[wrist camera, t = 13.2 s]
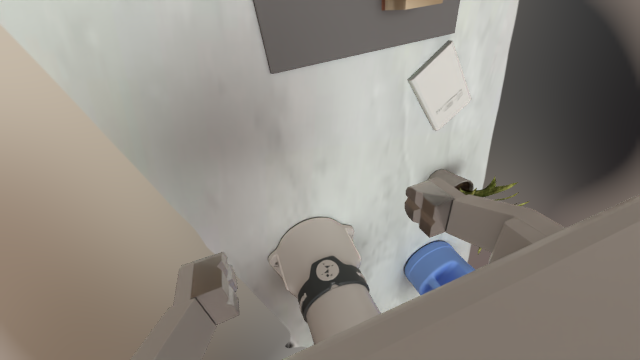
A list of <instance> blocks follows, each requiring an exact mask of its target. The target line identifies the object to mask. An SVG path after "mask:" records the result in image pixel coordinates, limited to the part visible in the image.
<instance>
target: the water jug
mask: <svg viewBox="0 0 640 360" xmlns="http://www.w3.org/2000/svg"><path fill="white" fill-rule="evenodd" d="M472 271H475V269H474V268H473V267H472V266H471V265H469V264H468V263H467V262H466V261H465V260H464V259H463V258H462V257H461V256H460V255H459V254H458V253H457V252H456V251H455V250H454V249H453V248H452V246H451V245H449V244H448V243H446V242H443V241H438V242H433V243H430V244H428V245H426V246H424V247H422V248H421V249H420V250H418V251H417V252H416V253H415V254H414V255H413V256H412V257H411V258H410V259H409V261H408V262H407V264H406V267H405V275H406V277H407V278H408V280H409V281H410V282H411V283H412V284H413V286H414V287H415V288H416V290H417V291H418V292H419V294H420V295H423V294H425V293H427V292H429V291H431V290H433V289H436V288H438V287H440V286H442V285H444V284H446V283H449V282H451V281H453V280H455V279H457V278H459V277H462V276H464V275H466V274H468V273H470V272H472Z"/></svg>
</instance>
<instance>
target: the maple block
mask: <svg viewBox="0 0 640 360" xmlns="http://www.w3.org/2000/svg"><path fill="white" fill-rule="evenodd" d="M440 3H443V0H382V10H407V9H412V8H418V7H423V6H429V5H435V4H440Z"/></svg>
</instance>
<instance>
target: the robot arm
mask: <svg viewBox="0 0 640 360" xmlns="http://www.w3.org/2000/svg"><path fill="white" fill-rule="evenodd" d="M406 196H407V197H408V198H407V200H406V201H405V211H406V214H407V215H408V217H409V218H410V219H411V220H412V221H413V222H416V223H419V228H420V229H421V230H422V231H423V232H424V233H425V234H426V235H427V236H428V237H429V238H430V237H433V236H435V235H438V234H441V233H443V232H446V233H448V234H450V235H453V236H455V237H457V238H459V239H462V240H464V241H466V242H468V243H471V244H473V245H475V246H478V247H480V248H482V249H485V250H487V251H489V252H491V253H492V254H491V257H490V259H489V264H488V265H485V266H483V267H481V268H479V269H477V270H475V271H472V272H470V273H468V274H466V275H464V276H462V277H459V278H457V279H455V280H453V281H451V282H449V283H446V284H444V285H442V286H440V287H438V288H436V289H433V290H431V291H429V292H427V293H425V294H423V295H420V296H418V297H416V298H414V299H412V300H410V301H407V302H405V303H403V304H401V305H399V306H397V307H395V308H392V309H390V310H388V311H386V312H384V313H382V314H381V312H380V311H379V309H378V307H377V306H376V304H375V302H374V301H373V299H372V297H371V295H370V294H369V287H368V285H367V283H366V280H365V278H364V276H363V275H362V274H361V272H360V270H359V267H360V264H361V257H360V255H359V253H358V251H357V249H356V247H355V245H354V243H353V236H354V229H353V227H352V226H349V225H342V224H340V223H338V222H337V221H335V220H333V219H330V218H313V219H309V220H306V221H304V222H301V223H299V224H298V225H296V226H294V227H293V228H292V229H290V230H289V231H288V232H287V233H286V234H285V235H284V237H283V238H282V240H281V241H280V244H279V246H278V248H277V249H276V250H275V251H274V252H273V253H272V254H271V255H270V256H269V257H268V261H269V263H270V265H271V266H272V267H273V268H274V269H275V270H276V272H277V273H278V274H279V275H280V276H281V277H282V279H283V280H284V283H285V286H286V289H287V291H290V292H291V294H292V295H294V296H295V297H296V298H297V299H298V302H299V305H300V310H301V313H302V315H303V317H304V320H305V321H306V322H307V323H308V325H309V328H310V332H311V335H312V339H313V342H314V345H312V346H310V347H308V348H306V349H304V350H302V351H299V352H298V353H295V354H293V355H291V356H289V357H287V358H285V359H282V360H640V195H637V196H634V197H632V198H630V199H628V200H626V201H624V202H621V203H620V204H617V205H615V206H613V207H611V208H608V209H606V210H604V211H602V212H600V213H598V214H596V215H593V216H591V217H589V218H587V219H585V220H583V221H581V222H578V223H576V224H574V225H572V226H570V227H568V228H565V227H563V226H561V225H560V224H558V223H556V222H554V221H552V220H550V219H549V218H547V217H546V216H544V215H542V214H540V213H539V212H537V211H535V210H534V209H530V208H526V207H522V206H517V205H513V204H509V203H504V202H500V201H496V200H492V199H487V198H483V197H479V196H474V195H470V194H468V195H465V194H463V193H462V192H460V191H459V190H457V189H456V188H454V187H453V186H451V185H450V184H448V183H447V182H445V181H444V180H442V179H441V178H438V177H435V178H432V179H429V180H427V181H424V182H421V183H419V184H416V185H413V186H410V187H408V188H407V189H406ZM236 290H237V280H236V275H235V272H234V270H233V268H232V266H231V265H229V264H228V261H227V256H226V255H225V253H224V252H221V253H218V254H215V255H212V256H208V257H205V258H202V259H199V260H196V261H194V262H191V263H188V264H185V265H181V267H180V269H179V273H178V279H177V285H176V291H175V297H174V304H173V306H172V307H170V308H168V309H167V311H166V312H165V313H164V315H163V316H162V317H161V319H160V320H159V321H158V323H157V324H156V325H155V327H154V328H153V330H152V331H151V332H150V334H149V335H148V336H147V338H146V339H145V340H144V342H143V343H142V345H141V346H140V347H139V348H138V350H137V351H136V353H135V354H134V355H133V356H132V358H131V359H130V360H202V358H203V356H204V354H205V351H206V349H207V347H208V345H209V342H210V340H211V338H212V336H213V333H214V331H215V329H216V325H218V324H220V323H223V322H225V321H227V320H229V319H231V318H234V317H236V316H238V315H239V301H238V297H237V296H236V294H235V292H236Z"/></svg>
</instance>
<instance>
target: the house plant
mask: <svg viewBox="0 0 640 360" xmlns="http://www.w3.org/2000/svg"><path fill="white" fill-rule="evenodd" d="M435 177H438V178H441V179H442V180H444V181H445V182H447V183H448V184H450V185H451V186H453V187H454V188H456V189H457V190H459V191H460V192H462V193H463V194H465V195H468V194H470V195H474V196H479V197H486V196H489V195H492V194H495V193H498V192H501V191H504V190H507V189H509V188H511V187H512V186H514V185H515V184H516V183H513V184H510V185H507V186H498V187H495V186H496V184H495V181H496V179H495V177H494V179H493V181H492V182H491V183H490V185H489V186H488V187H486V188H485V189H483V190H476V189H477V188H476V189H475V190H474V191H473V183H472V182H471V181H469V180H467V179H465V178H462V177H460V176H458V175H455V174H453V173H451V172H448V171H446V170H444V169H440V170H437V171H436V172H434V173H433V174H432V175H431V176H430V178H429V179H432V178H435ZM429 179H428V180H429ZM515 195H516V194H515ZM515 195H513V196H515ZM513 196H510V197H507V198H503V199H497V200H504V199H508V198H511V197H513ZM526 203H527V202H526ZM526 203H522V204H520V205H517V206H522V205H524V204H526ZM514 205H515V204H514ZM481 249H482V248H480V247H479V251H478V253H479V252H480V251H481Z"/></svg>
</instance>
